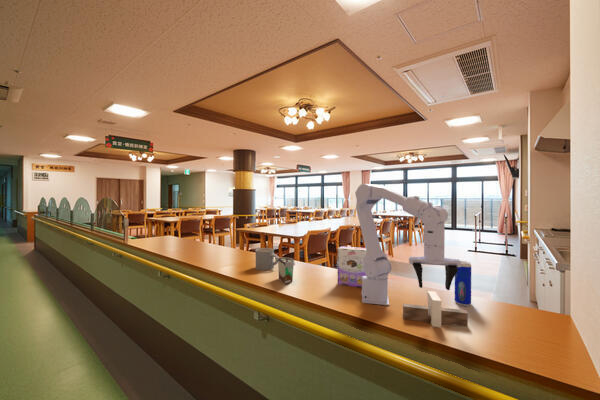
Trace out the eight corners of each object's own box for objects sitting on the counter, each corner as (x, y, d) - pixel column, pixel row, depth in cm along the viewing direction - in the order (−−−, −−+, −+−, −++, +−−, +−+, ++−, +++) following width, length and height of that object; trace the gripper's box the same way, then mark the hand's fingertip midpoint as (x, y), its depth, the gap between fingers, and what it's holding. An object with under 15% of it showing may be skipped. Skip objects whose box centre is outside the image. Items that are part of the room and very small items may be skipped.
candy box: (371, 285, 117) (371, 248, 117) (368, 289, 112) (368, 250, 111) (341, 280, 123) (341, 245, 123) (337, 284, 118) (337, 247, 118)
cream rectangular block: (427, 315, 87) (427, 290, 87) (435, 315, 86) (435, 291, 86) (432, 326, 79) (432, 300, 79) (441, 327, 79) (441, 300, 79)
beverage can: (451, 301, 98) (451, 261, 98) (461, 299, 100) (461, 260, 100) (464, 307, 93) (464, 264, 93) (474, 304, 95) (474, 263, 95)
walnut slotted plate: (403, 318, 84) (403, 306, 84) (402, 315, 87) (402, 303, 87) (467, 326, 79) (467, 313, 79) (465, 322, 82) (465, 310, 82)
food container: (299, 284, 118) (298, 261, 118) (285, 285, 116) (285, 263, 116) (289, 276, 130) (289, 256, 130) (277, 277, 127) (277, 257, 127)
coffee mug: (251, 268, 145) (251, 250, 144) (265, 264, 152) (265, 247, 152) (268, 272, 136) (268, 253, 136) (282, 268, 144) (282, 250, 144)
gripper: (410, 245, 81) (410, 289, 81) (464, 248, 77) (464, 294, 77) (408, 242, 88) (408, 282, 88) (457, 244, 84) (457, 286, 84)
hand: (433, 287), depth 83 cm, fingers open, 7 cm apart
